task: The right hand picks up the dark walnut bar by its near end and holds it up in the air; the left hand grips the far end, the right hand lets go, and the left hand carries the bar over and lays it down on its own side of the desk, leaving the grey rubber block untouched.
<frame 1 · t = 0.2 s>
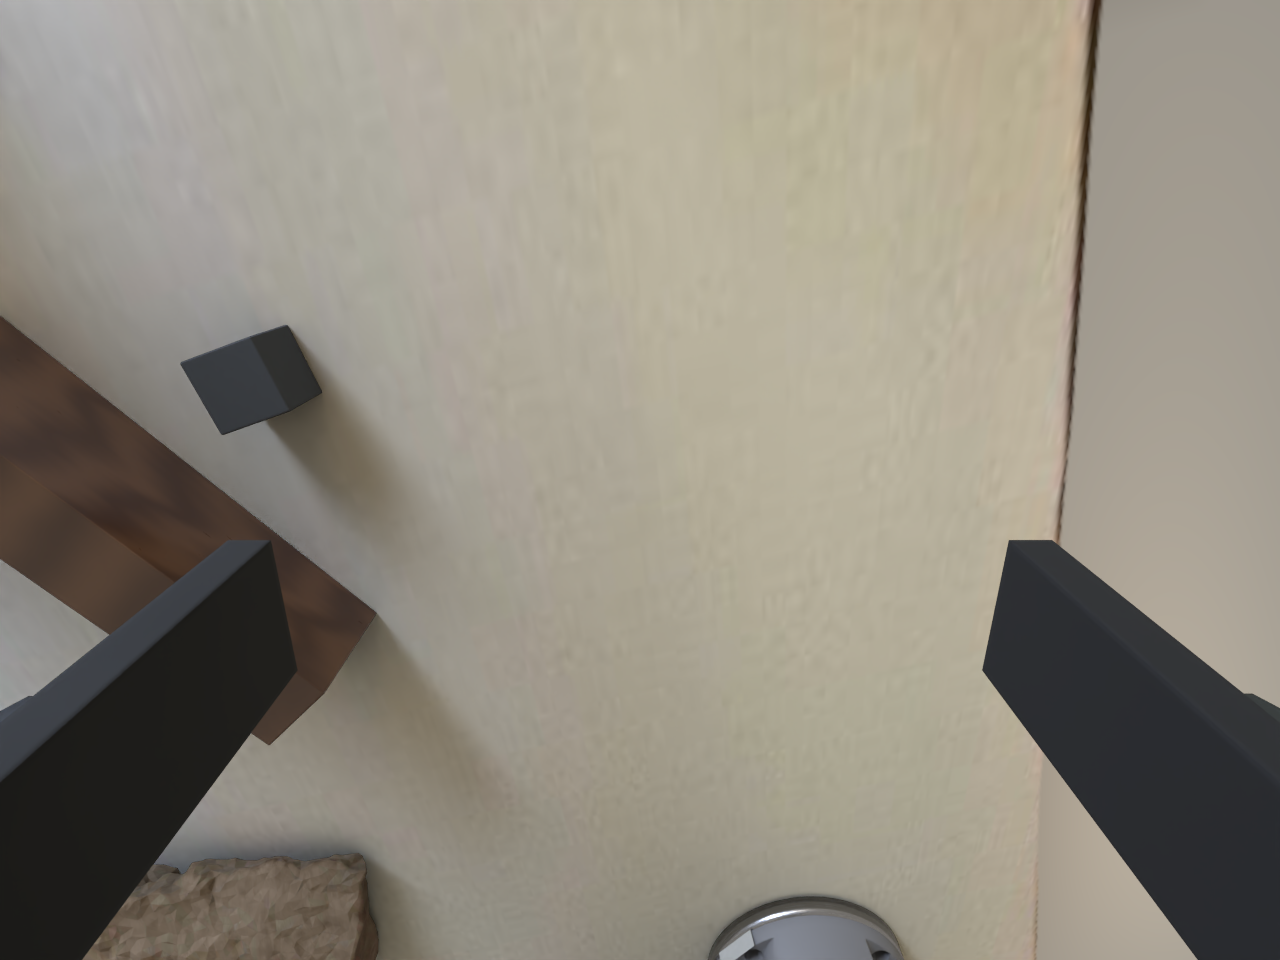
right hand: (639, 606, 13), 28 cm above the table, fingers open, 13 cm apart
grey block: (273, 370, 39), on the table
stone: (245, 902, 54), on the table
walnut bar: (178, 501, 42), on the table
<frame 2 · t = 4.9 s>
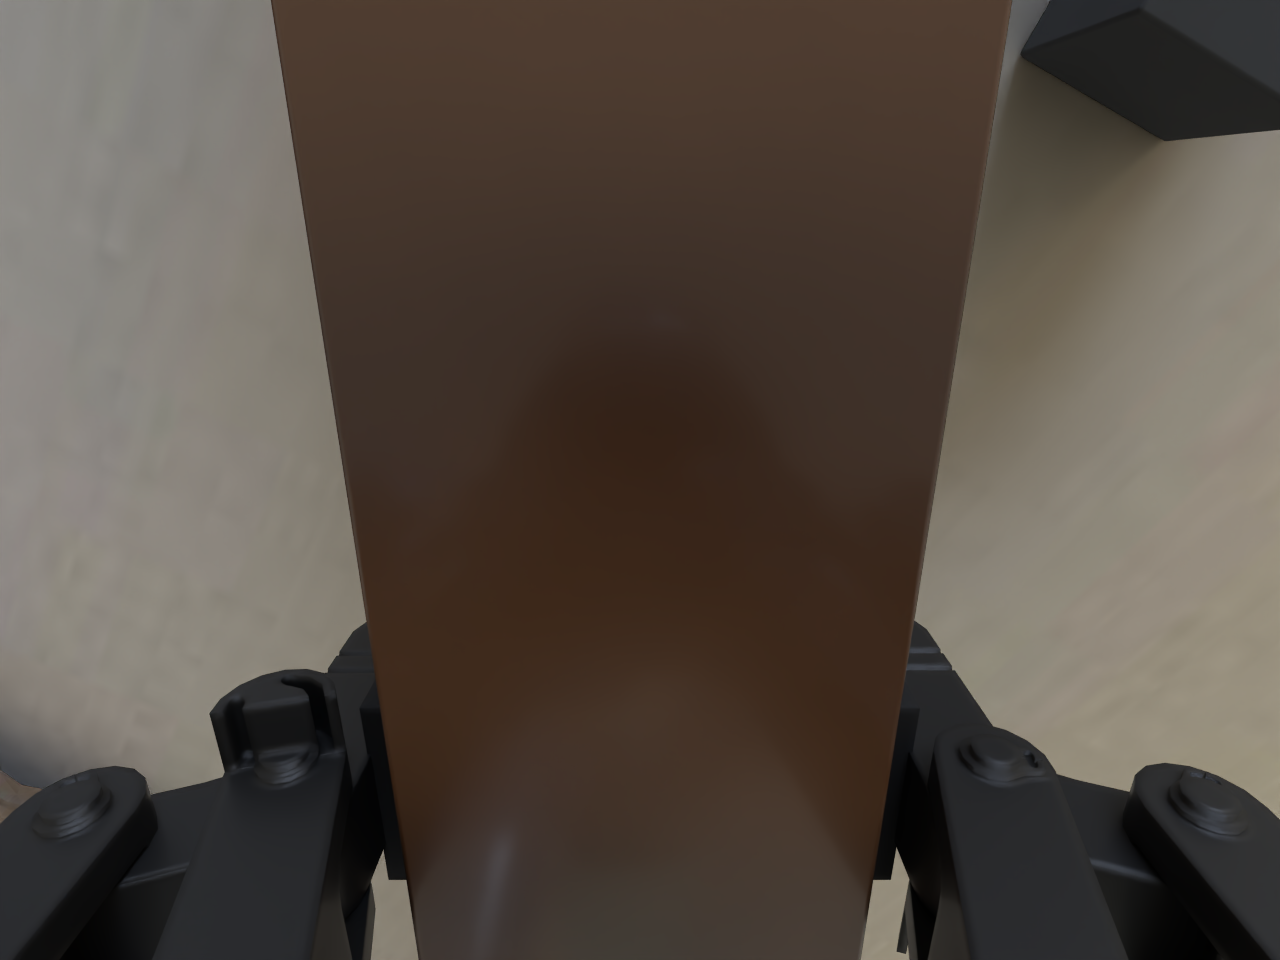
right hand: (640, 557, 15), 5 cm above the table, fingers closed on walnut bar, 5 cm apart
grey block: (1153, 2, 15), on the table
walnut bar: (640, 47, 12), point 4 cm above the table, touching right hand
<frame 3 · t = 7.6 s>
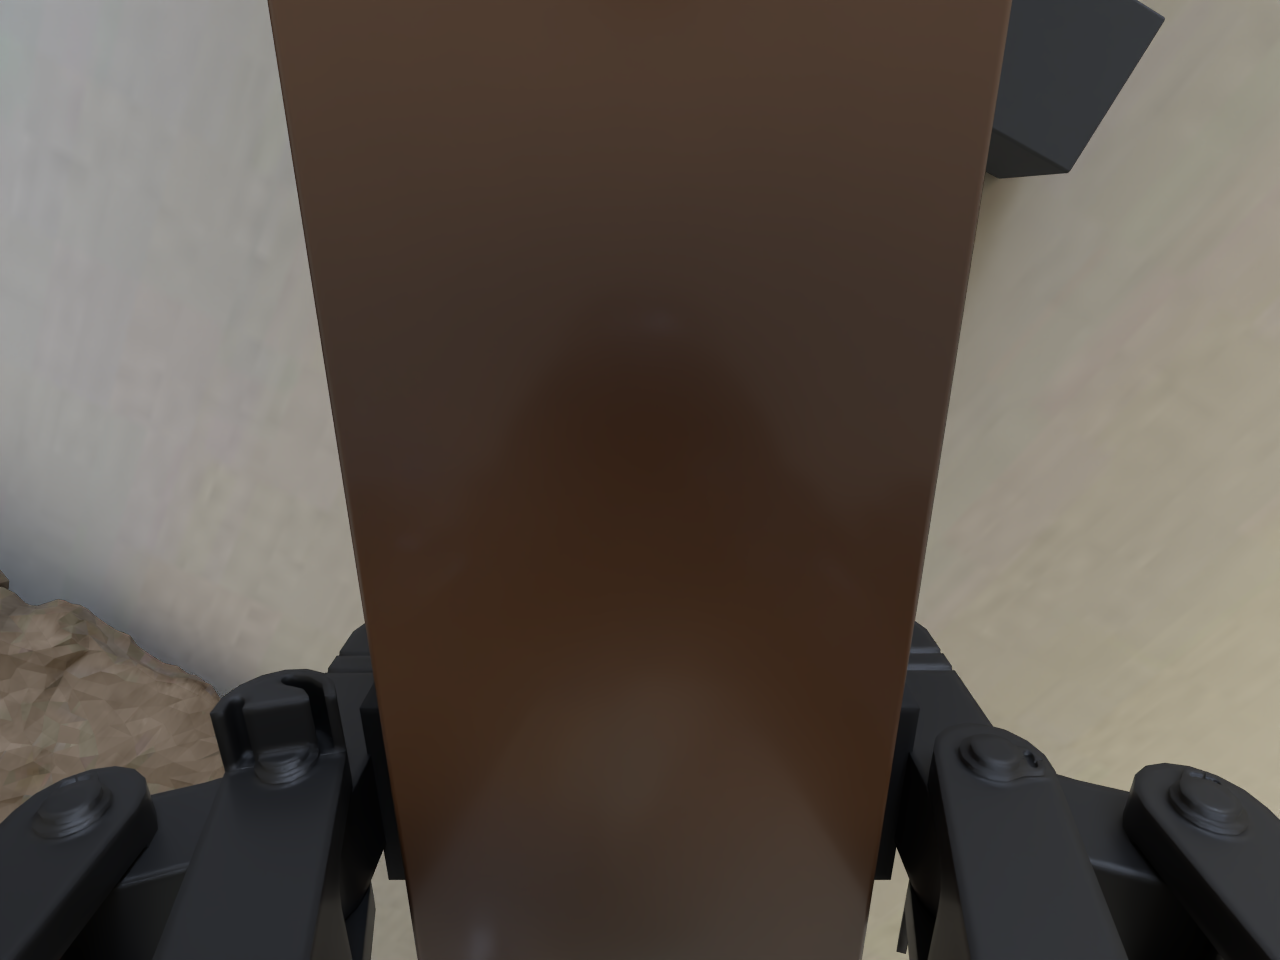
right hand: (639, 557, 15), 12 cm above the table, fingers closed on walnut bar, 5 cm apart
grey block: (983, 86, 22), on the table
stone: (56, 691, 30), on the table
walnut bar: (639, 45, 12), point 11 cm above the table, touching right hand
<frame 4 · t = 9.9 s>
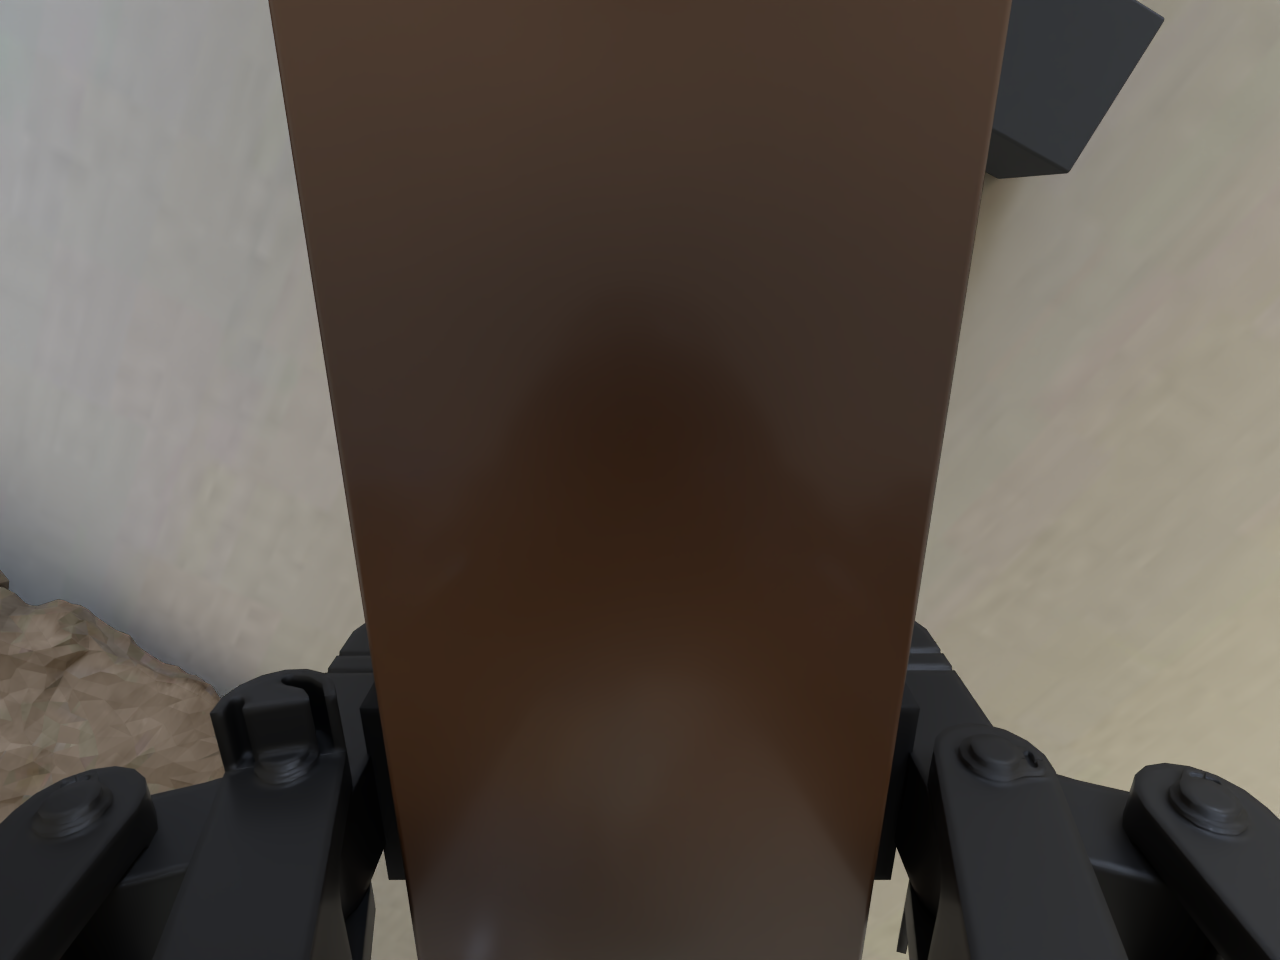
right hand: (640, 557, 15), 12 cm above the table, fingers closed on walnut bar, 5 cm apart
grey block: (983, 86, 22), on the table
stone: (56, 691, 30), on the table
walnut bar: (639, 46, 12), point 11 cm above the table, touching right hand, left hand
when the right hand's fingers open (12 cm above the table, at t = 10.6 s): walnut bar stays where it is, held by the left hand.
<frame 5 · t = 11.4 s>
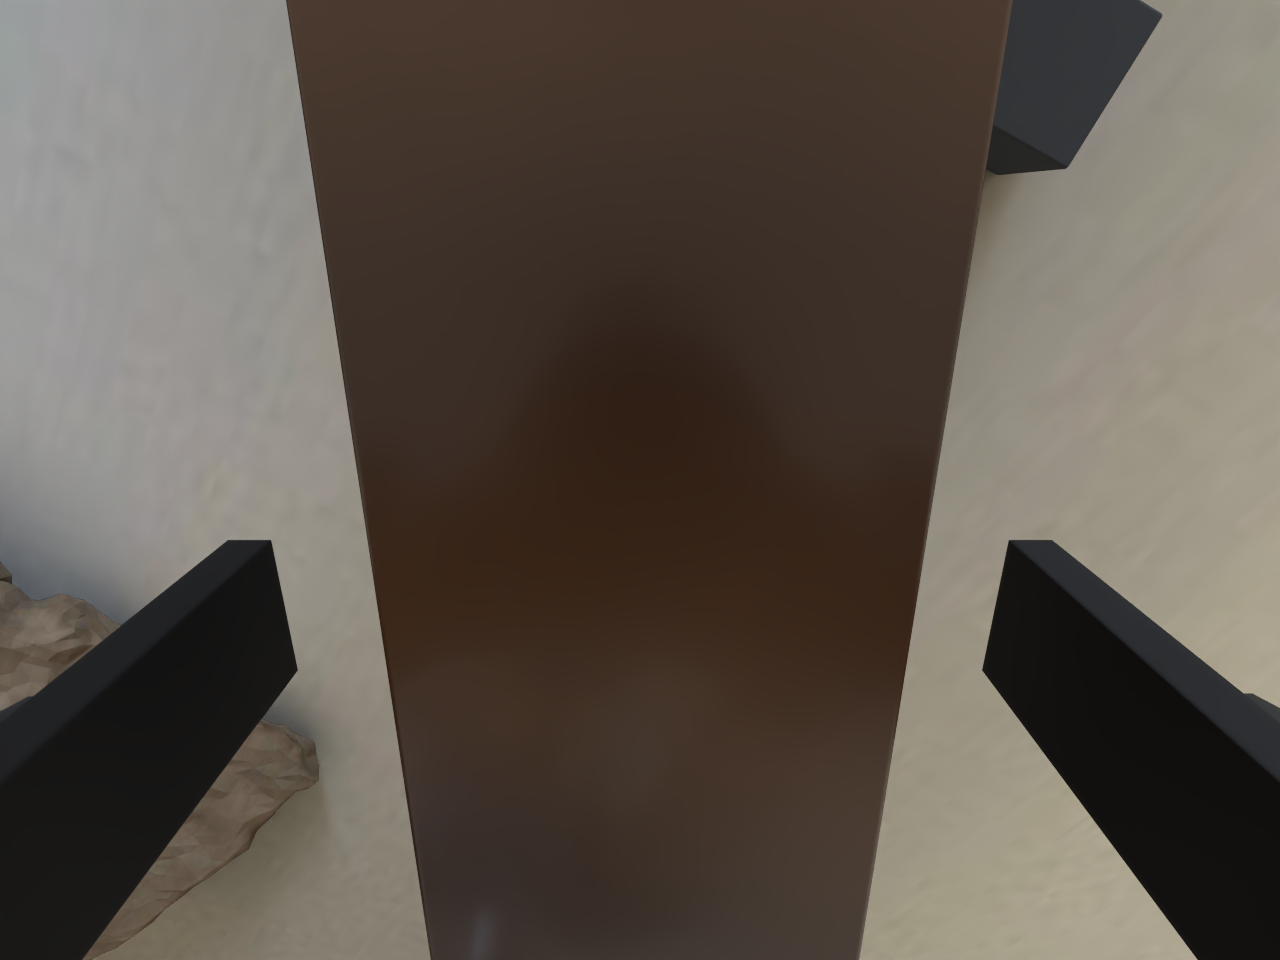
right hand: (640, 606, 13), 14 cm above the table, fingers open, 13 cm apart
grey block: (982, 83, 22), on the table
stone: (59, 685, 30), on the table
walnut bar: (644, 26, 12), point 11 cm above the table, touching left hand
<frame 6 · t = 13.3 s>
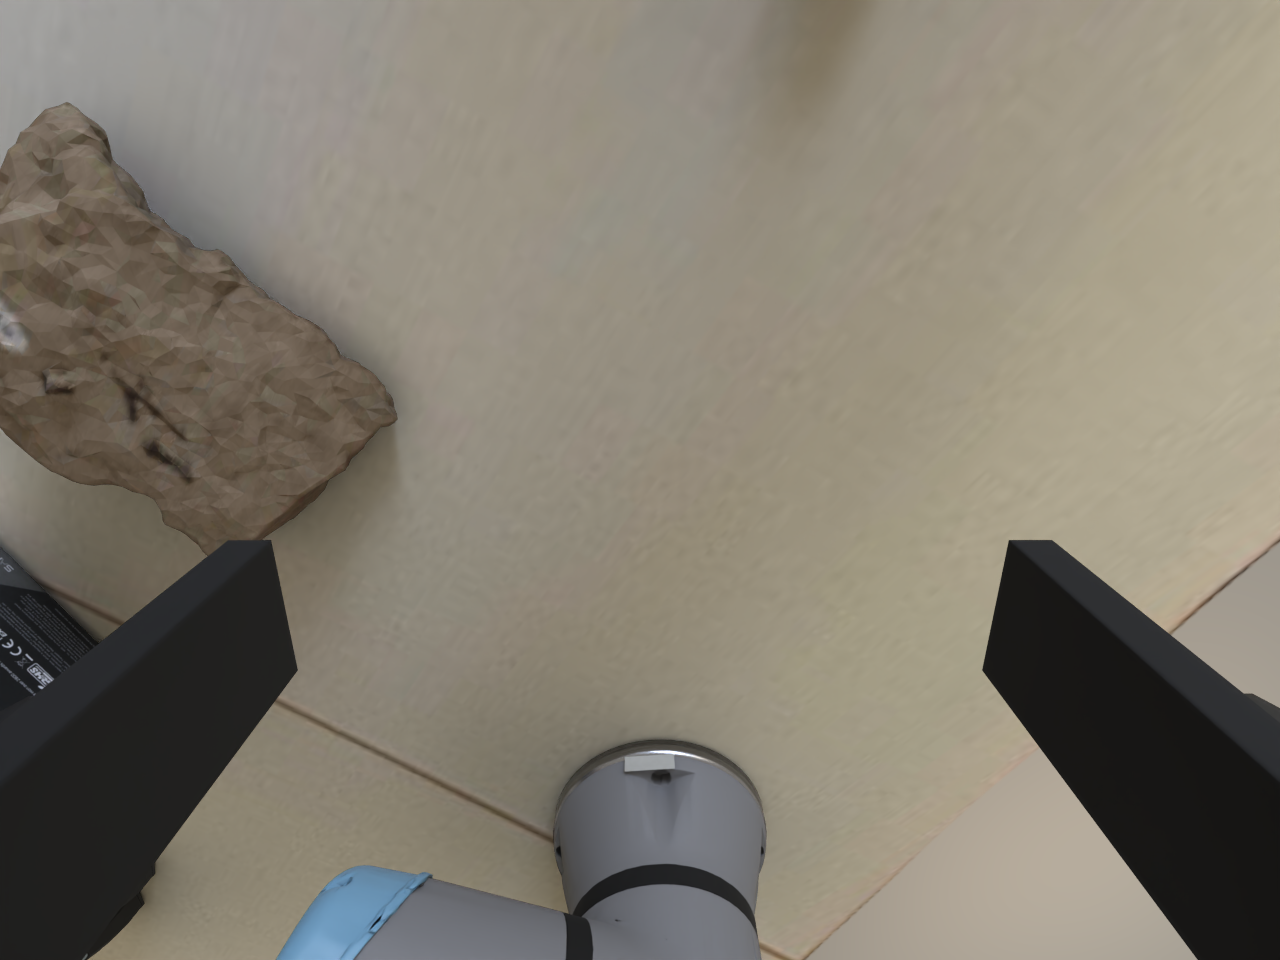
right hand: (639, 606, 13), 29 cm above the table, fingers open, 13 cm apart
robot: (123, 876, 54), on the table
stone: (201, 351, 40), on the table
graphics card box: (47, 631, 46), on the table
when the left hand's fingers open (1 cm above the table, at t = 17.0 s): walnut bar stays where it is, on the table.
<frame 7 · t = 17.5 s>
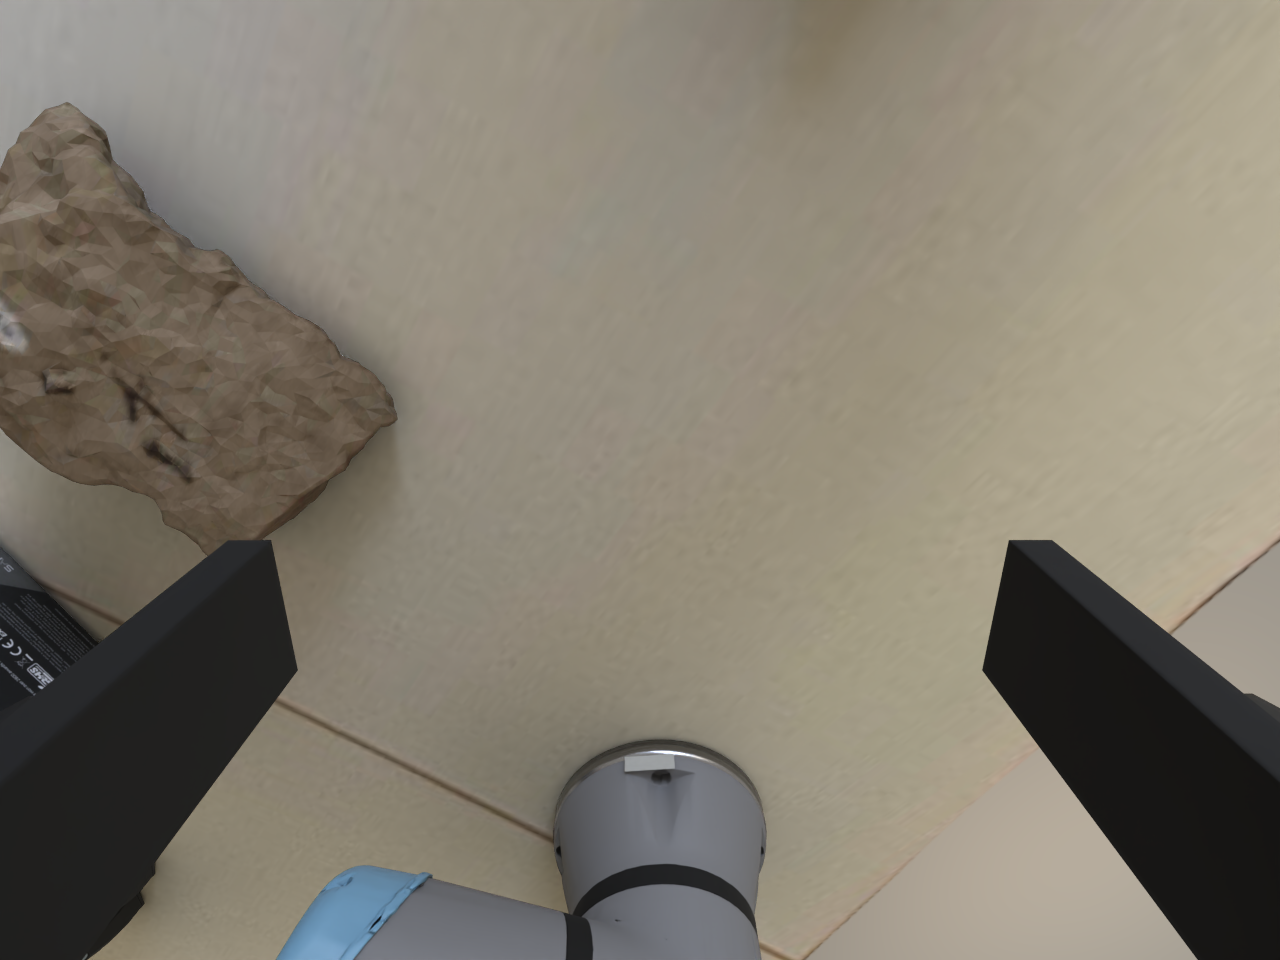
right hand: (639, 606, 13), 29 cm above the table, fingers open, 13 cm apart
robot: (123, 876, 54), on the table
stone: (201, 351, 40), on the table
graphics card box: (47, 631, 46), on the table
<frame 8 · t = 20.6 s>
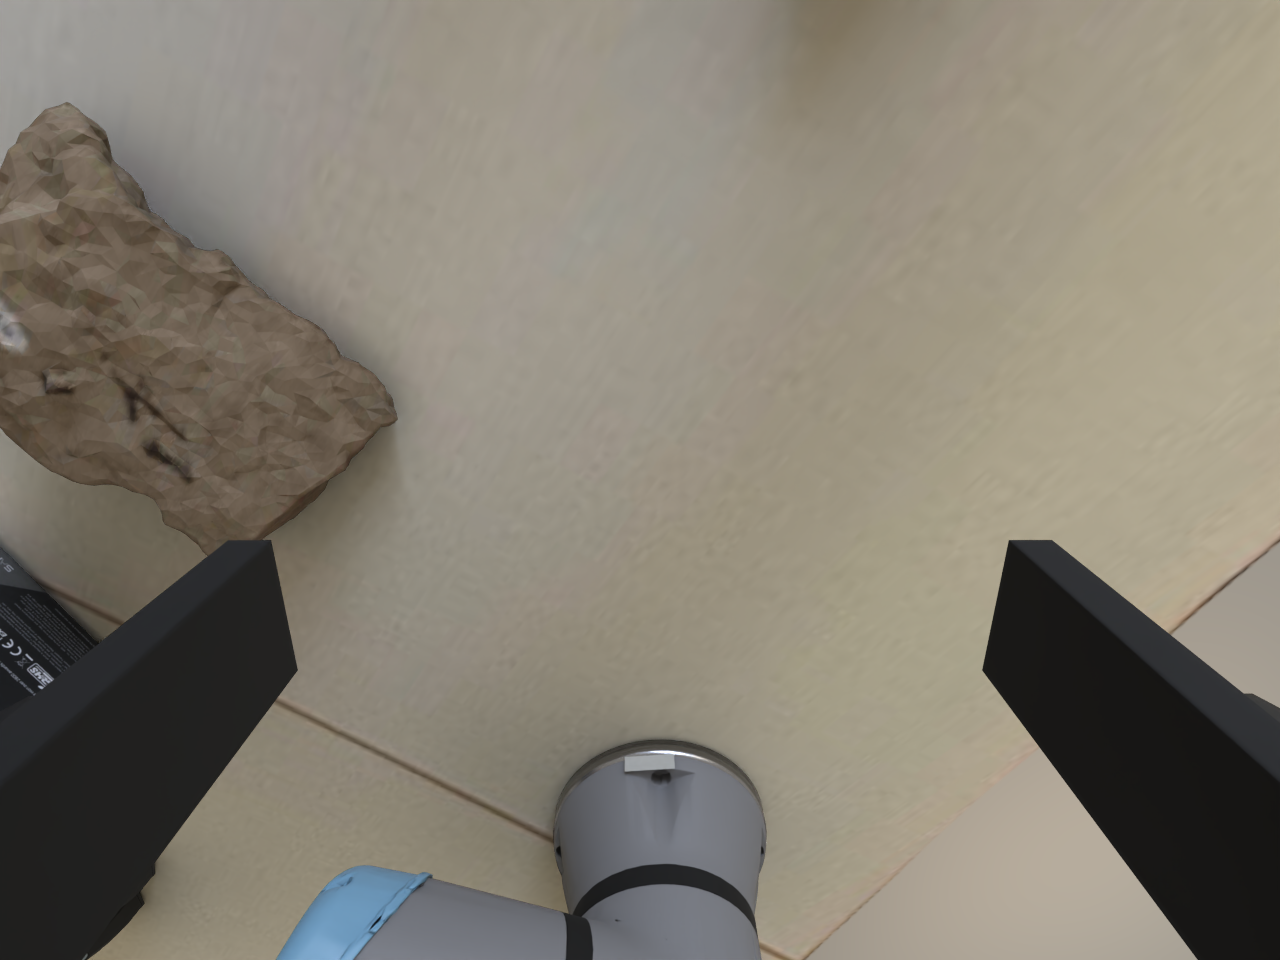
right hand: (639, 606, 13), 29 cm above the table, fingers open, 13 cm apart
robot: (123, 876, 54), on the table
stone: (201, 351, 40), on the table
graphics card box: (47, 631, 46), on the table
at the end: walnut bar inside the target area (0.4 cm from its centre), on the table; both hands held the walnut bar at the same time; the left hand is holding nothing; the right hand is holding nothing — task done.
